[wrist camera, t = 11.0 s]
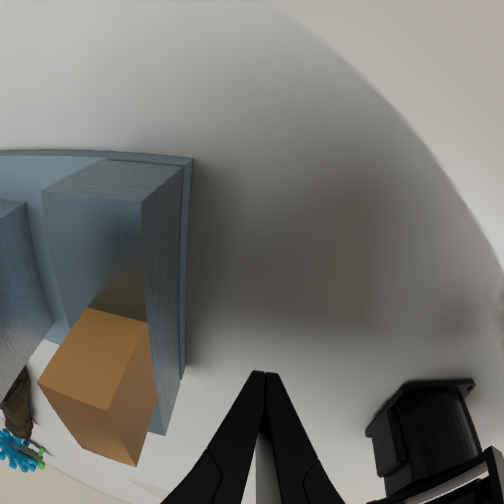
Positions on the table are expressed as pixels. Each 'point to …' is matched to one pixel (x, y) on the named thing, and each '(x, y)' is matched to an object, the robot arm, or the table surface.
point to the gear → (19, 452)
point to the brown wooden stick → (18, 407)
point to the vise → (29, 190)
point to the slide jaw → (115, 303)
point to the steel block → (19, 294)
